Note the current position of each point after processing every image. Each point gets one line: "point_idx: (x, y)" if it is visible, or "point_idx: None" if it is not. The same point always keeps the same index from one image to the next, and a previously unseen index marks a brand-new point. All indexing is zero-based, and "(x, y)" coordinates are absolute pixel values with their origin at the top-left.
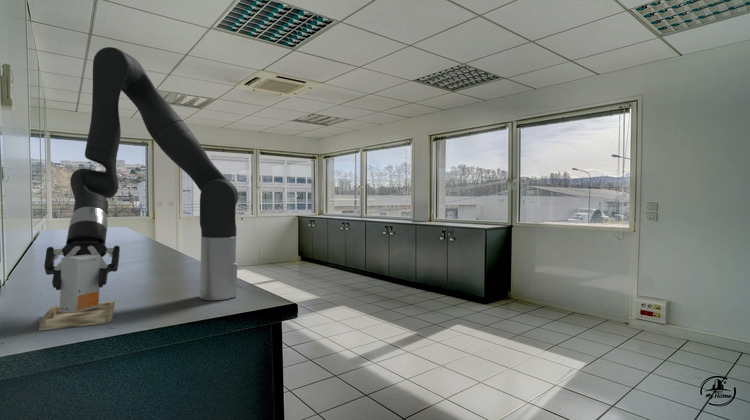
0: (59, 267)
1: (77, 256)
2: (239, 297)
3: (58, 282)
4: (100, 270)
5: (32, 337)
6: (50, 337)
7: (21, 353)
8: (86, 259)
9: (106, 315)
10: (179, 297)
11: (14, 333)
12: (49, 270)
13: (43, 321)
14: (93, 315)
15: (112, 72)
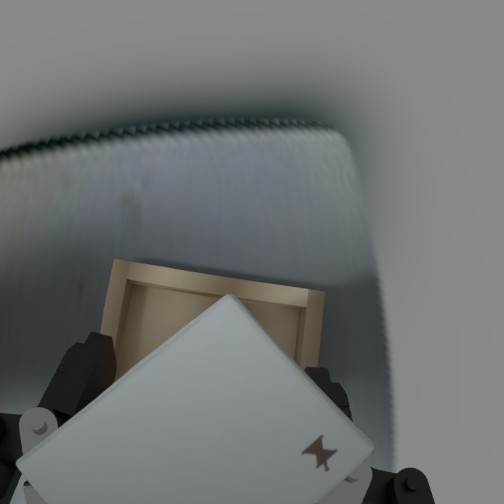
0: (344, 479)
1: (227, 501)
2: None
3: (316, 376)
4: (72, 404)
5: (322, 232)
6: (281, 205)
7: (322, 125)
8: (135, 367)
9: (127, 262)
10: None
11: (368, 302)
12: (387, 473)
13: (313, 290)
14: (165, 274)
15: None
